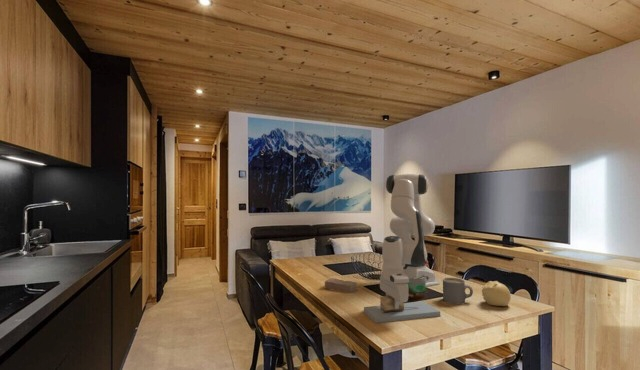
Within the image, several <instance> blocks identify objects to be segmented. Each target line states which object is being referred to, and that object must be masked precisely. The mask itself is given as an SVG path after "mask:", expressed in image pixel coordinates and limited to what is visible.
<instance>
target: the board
mask: <svg viewBox="0 0 640 370" xmlns="http://www.w3.org/2000/svg"><path fill="white" fill-rule="evenodd" d="M363 312H364V313H365V314H366V315H367V316H368V317H369V318H370V319H371V320H372V321H373V322H374V323H375V324H377V323H388V322H398V321H407V320H415V319H416V320H417V319H424V318H425V319H426V318H434V317H435V318H436V317H441V310H438V309H437V308H436V307H434V306H432V305H431V304H429V303H427V302H425V301H423V300H422V301H415V302H413V301H412V302H404V310H399V311H389V312H384V311H383V310H382V309H381V308H380V305H372V306H370V305H369V306H363Z"/></svg>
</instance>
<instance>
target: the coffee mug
mask: <svg viewBox="0 0 640 370" xmlns="http://www.w3.org/2000/svg"><path fill="white" fill-rule="evenodd" d="M466 289H468V290H469V293H466ZM473 294H474V290H473V287H472V286H471V285H469V284H466V282H465V279H462V278H457V277H444V278H442V300H443V302H446V303H448V304H453V305H462V304H465V303H466V299H468V298H471V297H472V296H473Z"/></svg>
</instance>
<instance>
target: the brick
mask: <svg viewBox="0 0 640 370" xmlns="http://www.w3.org/2000/svg"><path fill="white" fill-rule="evenodd" d="M324 289H328V290H331V291H336V292H342V293H350V294H351V293H354V292H355V291H357V290H358V283H357V281H351V280H343V279H339V278H334V277H330V278H328V279H326V281H325V282H324Z"/></svg>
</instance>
